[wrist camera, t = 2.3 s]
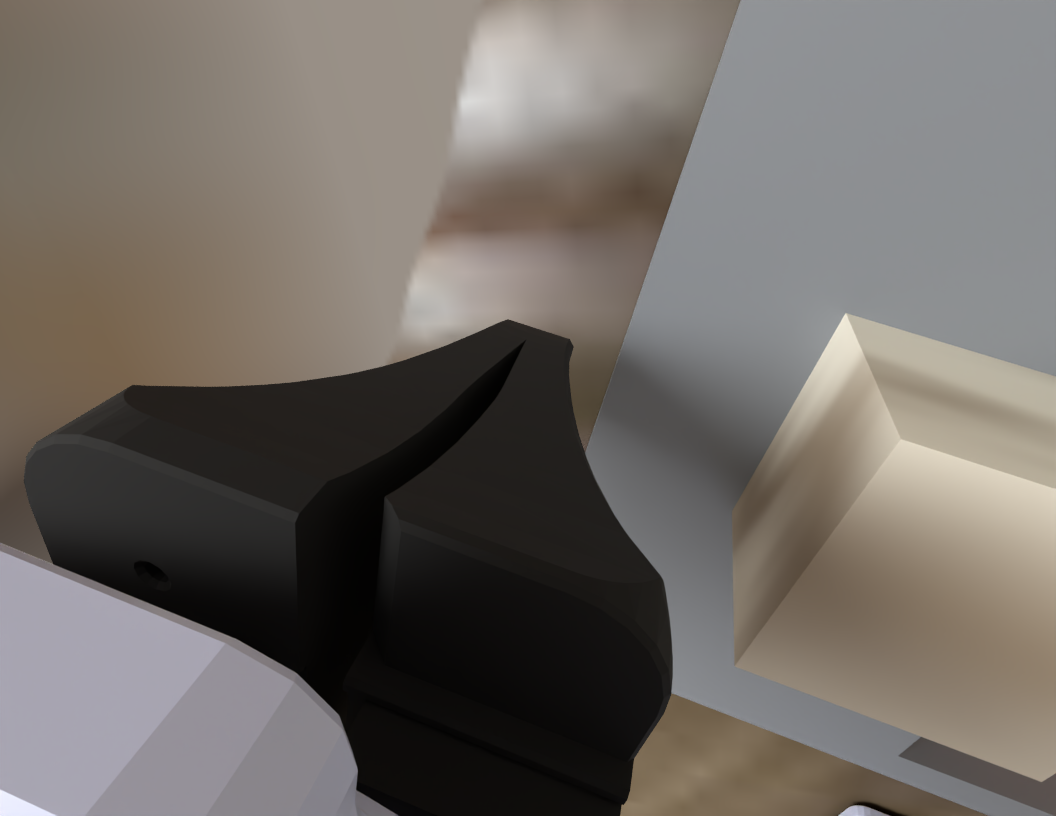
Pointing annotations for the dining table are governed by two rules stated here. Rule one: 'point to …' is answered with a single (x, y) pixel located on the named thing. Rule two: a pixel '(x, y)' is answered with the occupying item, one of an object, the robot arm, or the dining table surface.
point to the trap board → (829, 299)
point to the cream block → (910, 545)
